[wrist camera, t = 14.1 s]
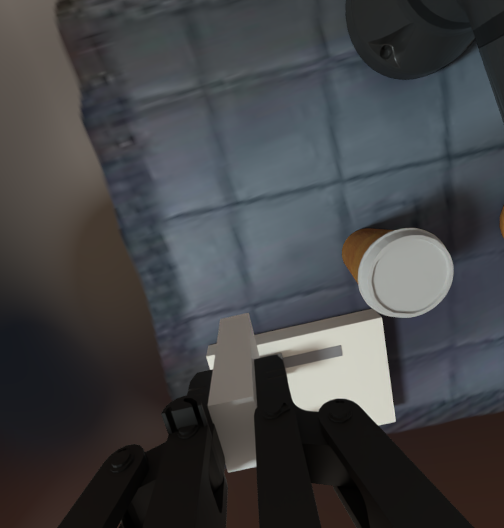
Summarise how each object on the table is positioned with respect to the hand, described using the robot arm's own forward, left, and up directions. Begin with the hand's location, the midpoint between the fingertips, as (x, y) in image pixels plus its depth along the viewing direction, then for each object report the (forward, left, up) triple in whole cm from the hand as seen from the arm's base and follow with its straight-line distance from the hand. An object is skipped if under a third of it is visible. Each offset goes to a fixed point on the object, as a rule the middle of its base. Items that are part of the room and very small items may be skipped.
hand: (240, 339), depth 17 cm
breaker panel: (-4, +22, -26) cm, 35 cm away
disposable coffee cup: (-16, +5, -27) cm, 31 cm away
